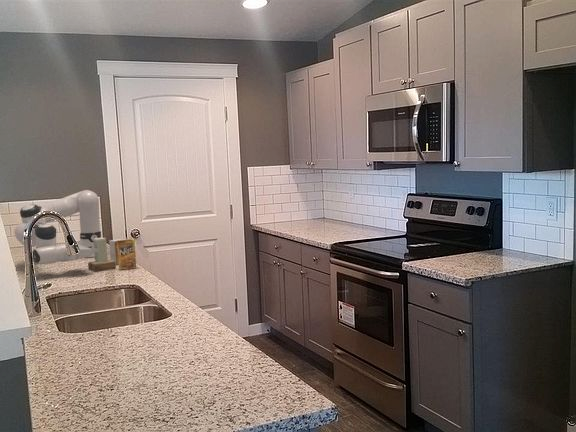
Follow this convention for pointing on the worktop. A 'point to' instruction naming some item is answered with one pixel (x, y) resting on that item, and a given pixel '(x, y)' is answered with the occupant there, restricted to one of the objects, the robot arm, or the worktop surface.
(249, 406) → the worktop surface
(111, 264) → the base
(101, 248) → the block
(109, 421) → the worktop surface
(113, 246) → the small box
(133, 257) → the candy box
